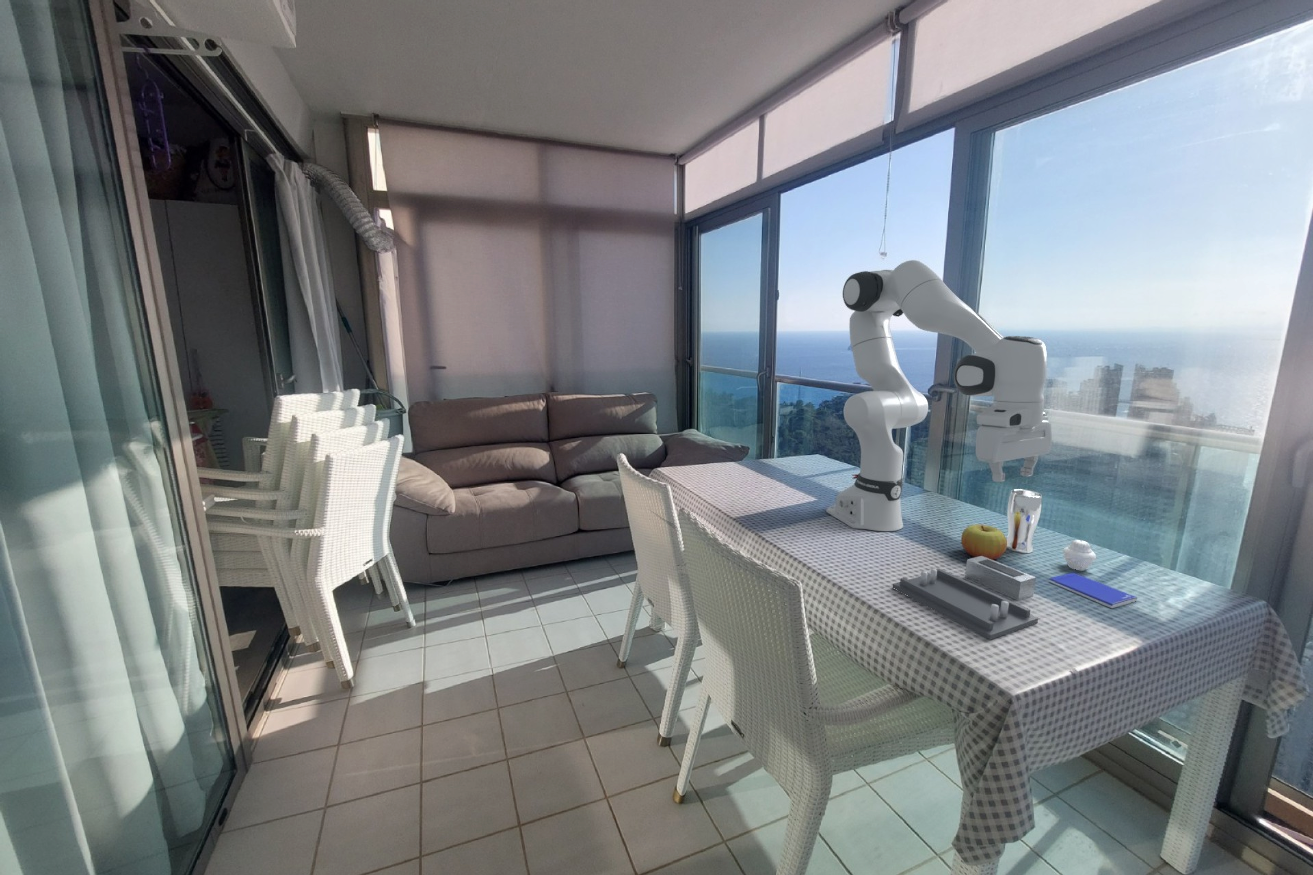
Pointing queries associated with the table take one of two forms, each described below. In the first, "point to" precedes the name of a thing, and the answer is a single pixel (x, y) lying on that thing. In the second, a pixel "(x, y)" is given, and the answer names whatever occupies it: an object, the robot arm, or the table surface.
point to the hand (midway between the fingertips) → (1012, 478)
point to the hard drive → (1093, 590)
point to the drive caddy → (1000, 577)
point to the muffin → (1079, 555)
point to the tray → (967, 603)
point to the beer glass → (1022, 519)
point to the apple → (984, 541)
